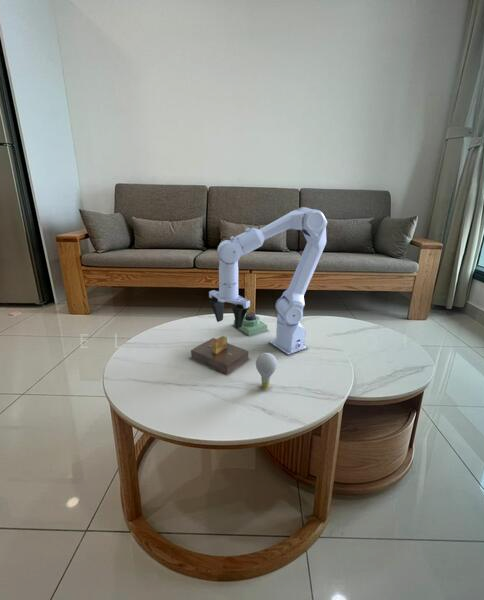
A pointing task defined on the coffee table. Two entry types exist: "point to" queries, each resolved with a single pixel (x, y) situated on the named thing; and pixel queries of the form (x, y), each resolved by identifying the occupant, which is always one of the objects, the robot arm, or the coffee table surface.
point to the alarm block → (252, 326)
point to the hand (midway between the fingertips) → (229, 324)
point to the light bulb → (266, 367)
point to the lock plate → (220, 356)
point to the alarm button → (250, 316)
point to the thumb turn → (219, 344)
